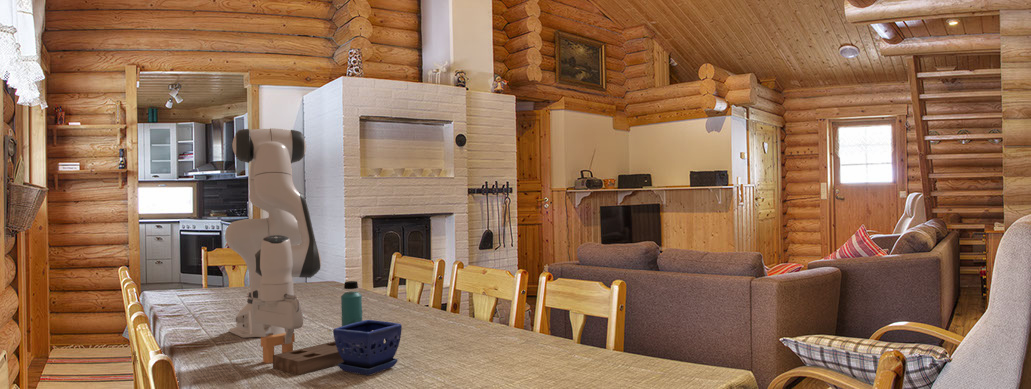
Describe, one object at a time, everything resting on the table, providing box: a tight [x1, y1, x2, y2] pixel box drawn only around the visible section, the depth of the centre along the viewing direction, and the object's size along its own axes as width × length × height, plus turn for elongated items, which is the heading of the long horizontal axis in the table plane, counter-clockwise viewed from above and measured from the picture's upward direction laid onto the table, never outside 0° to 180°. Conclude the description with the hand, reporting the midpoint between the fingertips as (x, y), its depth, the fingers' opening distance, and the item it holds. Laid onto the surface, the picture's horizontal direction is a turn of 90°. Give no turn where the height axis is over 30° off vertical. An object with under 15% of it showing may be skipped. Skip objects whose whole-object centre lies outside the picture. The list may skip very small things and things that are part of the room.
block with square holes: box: [272, 340, 344, 376], centre depth 191 cm, size 12×24×4 cm, turn 141°
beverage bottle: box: [340, 280, 364, 326], centre depth 209 cm, size 6×7×20 cm
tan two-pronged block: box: [260, 332, 296, 364], centre depth 194 cm, size 9×3×7 cm, turn 141°
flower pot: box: [332, 319, 402, 376], centre depth 181 cm, size 13×13×12 cm
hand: (278, 341), depth 194 cm, fingers open, 8 cm apart
